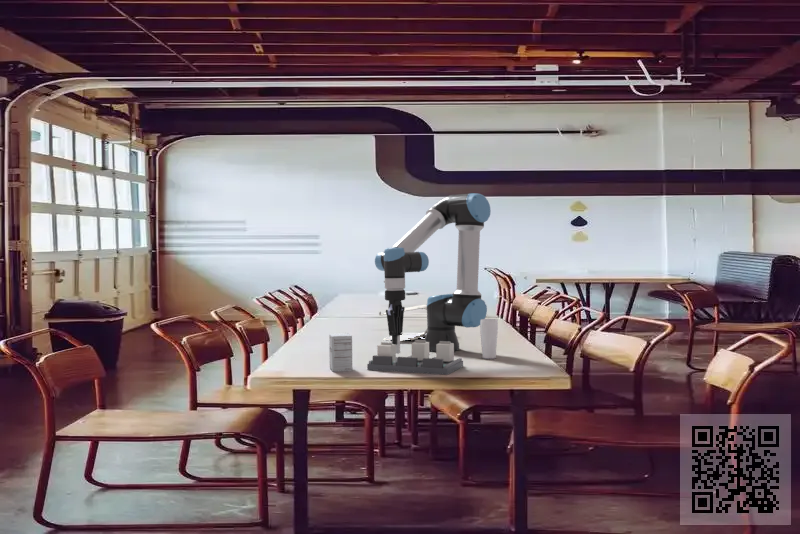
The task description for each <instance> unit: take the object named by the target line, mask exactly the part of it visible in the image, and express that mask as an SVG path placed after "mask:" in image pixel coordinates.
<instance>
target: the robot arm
mask: <svg viewBox="0 0 800 534" xmlns="http://www.w3.org/2000/svg"><path fill="white" fill-rule="evenodd" d="M490 216H491V205H490V203H489V200H488V199H487V197H486V196H485V195H483V194H481V193H477V192H476V193H473V192H470V193H461V194H460V193H459V194H450V195H448V196H445V197H443V198H442V199H440V200H439V201H437V202H436V203H434V204H433V205H432V206H431V207H430V208H428V209H427V211H426V213H425V216H424V217H422V218H421V219H420V221H418V222H417V223H416V224H415V225H414V226H413V227H412V228H411V229H410V230H408V232H407V233H405V234H404V235H403V236H402V237H401V238H400V239H398V241H396V242H395V244H393V245H392V246H391V247H386V248H385V249H384V251H380V252H378V253H377V254H376V255H375V258H374V264H375V267H376V268H377V269H378V270H379V271H382V272H384V280H383V283H384V289H385V291H384V299H385V301H388V309H385V313H386V315H385V316H386V320H387V326H388V327H387V328H388V336H392V341H391V343H392V344H396V355H397V354H398V355H400V354H401V341H400V335H402V334H404V333H403V331H404V330H403V327H404V313H405V311H404V309H405V308H406V307H405V306H403V303H402V301H405V300H406V290H405V289H406V273H420V272H424V271H427V269H428V268H429V263H430V259H429V257H428V255H427V253H425V252H424V251H423V252H422V251H416V250H418V249H419V248H420V247H421V246H422V245H423V244H424V243H425V242H426V241H427V240H428V239H429V238H431V236H433V234H435V232H437V231H438V230H441V229H444V227H445V226H447V225H451V224H454V225H455V228H456V229H457V230H458V246H457V268H456V269H457V272H456V273H457V274H456V289H455V290H454V291H453V292H452V293H447V294H438V295H430V296H428V298H427V302H426V304H427V310H426V321H427V322H426V324H427V325H426V326H427V328H426V330H427V333H426V334H425V336H424V337H425V339H424V340H425V341H426V342H429V352H435V353H436V344H438V343H439V341H447V342H451V343H454V352H456V351H457V352H458V351H459V350H460V342H459V339H458V336H457V333H456V327H463V328H478V327H480V320H481V319H486V317H487V313H488V312H487V311H488V306H487V304H486V302H485V300H483V299H482V294H481V292H480V291H479V264H480V259H479V258H480V241H481V240H480V239H481V238H480V237H481V230H482V229H484V227H485V222H487V221H488V220H489V218H490Z"/></svg>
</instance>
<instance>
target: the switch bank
mask: <svg viewBox="0 0 800 534" xmlns="http://www.w3.org/2000/svg"><path fill="white" fill-rule="evenodd" d="M366 365H367V366H366V367H367V369H366V370H368V371H369V370H370V371H383V372H400V373H401V372H402V373H413V374H414V373H415V374H416V373H417V374H428V375H429V374H430V375H447V376H448V375H449V374H451V373H453V372H455V371H457V370H458V369H460V368H463V367H464V360H462V358H461V357H459V358H457V359H454V360H452V361H450V362H445V361H443V359H436V356H434V357H429V358H423V360H417V358H414V357H412V355H409V356H396V361H394V362H392V356H378V355H372V359H370V360H369V361H368V363H367V364H366Z"/></svg>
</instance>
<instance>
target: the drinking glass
mask: <svg viewBox="0 0 800 534" xmlns="http://www.w3.org/2000/svg"><path fill="white" fill-rule="evenodd" d="M498 323H499V322H498V319H497V318H485V319H481V320H480V325H479V331H480V342H481V343H480V345H481V357H482V359H484V360H494V359H496V358H497V344H498V333H499V331H498V329H499V327H498V326H499V324H498Z"/></svg>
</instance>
